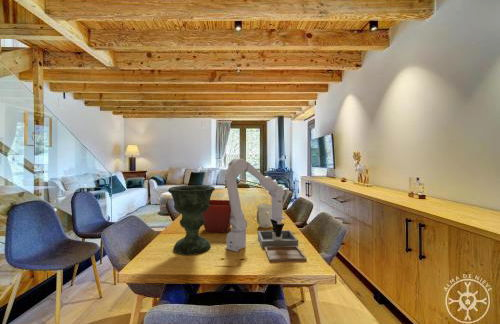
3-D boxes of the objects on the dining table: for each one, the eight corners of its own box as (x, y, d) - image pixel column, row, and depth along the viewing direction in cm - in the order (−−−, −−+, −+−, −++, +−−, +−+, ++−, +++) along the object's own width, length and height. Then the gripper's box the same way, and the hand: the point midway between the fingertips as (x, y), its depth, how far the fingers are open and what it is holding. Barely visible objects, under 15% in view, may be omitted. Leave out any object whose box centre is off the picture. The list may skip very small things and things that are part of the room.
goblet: (222, 244, 141) (222, 186, 140) (199, 259, 120) (198, 191, 119) (187, 239, 149) (186, 184, 149) (158, 252, 128) (158, 189, 128)
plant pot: (236, 226, 177) (236, 200, 177) (231, 234, 158) (231, 205, 158) (207, 225, 179) (207, 199, 179) (198, 233, 160) (198, 204, 160)
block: (282, 243, 141) (282, 234, 141) (273, 243, 141) (273, 234, 140) (280, 240, 145) (280, 232, 145) (272, 240, 145) (272, 232, 145)
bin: (298, 248, 135) (298, 240, 135) (261, 249, 133) (261, 241, 133) (290, 237, 153) (290, 230, 153) (257, 238, 151) (257, 230, 151)
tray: (306, 262, 117) (306, 258, 117) (269, 264, 116) (269, 259, 115) (297, 249, 133) (297, 245, 133) (264, 250, 131) (264, 246, 131)
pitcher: (259, 231, 165) (259, 208, 165) (254, 223, 183) (254, 203, 182) (277, 230, 167) (277, 208, 166) (270, 223, 184) (270, 202, 184)
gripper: (287, 211, 136) (287, 238, 136) (281, 205, 150) (281, 230, 150) (273, 211, 135) (273, 238, 135) (269, 206, 150) (269, 230, 150)
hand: (276, 234), depth 143 cm, fingers open, 7 cm apart
